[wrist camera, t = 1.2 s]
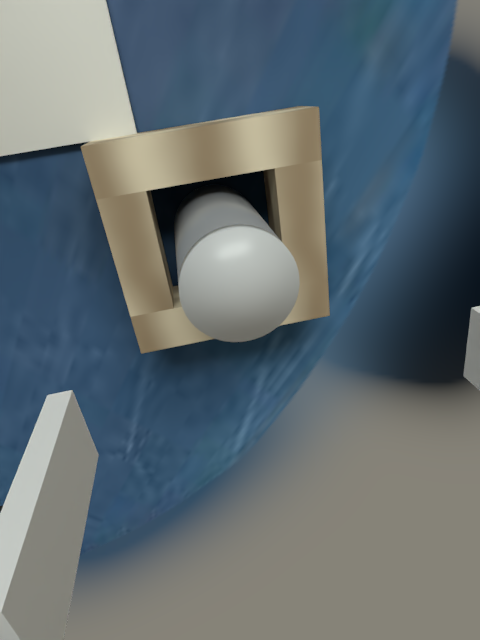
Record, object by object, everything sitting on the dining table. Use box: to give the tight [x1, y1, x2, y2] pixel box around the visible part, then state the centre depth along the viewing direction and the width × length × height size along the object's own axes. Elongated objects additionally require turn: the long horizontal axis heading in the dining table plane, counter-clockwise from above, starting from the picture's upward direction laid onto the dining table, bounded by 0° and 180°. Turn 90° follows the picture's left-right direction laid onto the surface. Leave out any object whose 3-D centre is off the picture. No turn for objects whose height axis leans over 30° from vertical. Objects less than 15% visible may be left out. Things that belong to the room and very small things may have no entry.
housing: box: [81, 106, 330, 354], centre depth 30 cm, size 14×14×4 cm
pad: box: [0, 0, 137, 156], centre depth 26 cm, size 10×10×1 cm
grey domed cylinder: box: [174, 184, 300, 342], centre depth 27 cm, size 6×6×12 cm
